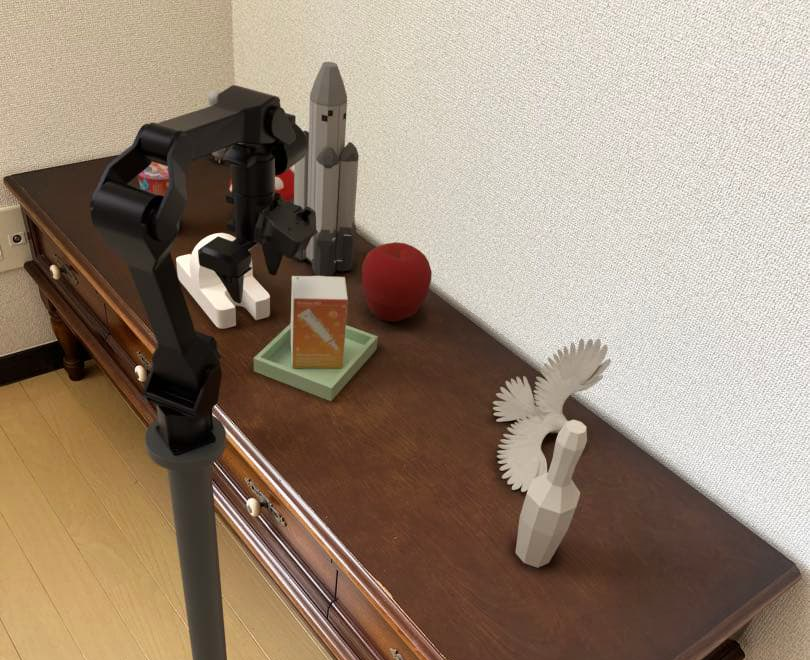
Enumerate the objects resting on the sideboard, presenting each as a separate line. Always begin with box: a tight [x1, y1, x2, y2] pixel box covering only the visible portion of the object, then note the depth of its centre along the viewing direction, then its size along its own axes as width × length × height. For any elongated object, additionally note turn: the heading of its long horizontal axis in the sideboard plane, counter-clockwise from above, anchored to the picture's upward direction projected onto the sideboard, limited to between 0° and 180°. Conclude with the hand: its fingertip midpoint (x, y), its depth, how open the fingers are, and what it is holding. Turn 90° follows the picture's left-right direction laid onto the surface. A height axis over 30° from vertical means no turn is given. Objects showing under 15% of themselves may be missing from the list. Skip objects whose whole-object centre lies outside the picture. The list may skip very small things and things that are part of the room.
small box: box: [290, 275, 349, 368], centre depth 126 cm, size 8×6×13 cm
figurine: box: [205, 89, 226, 164], centre depth 172 cm, size 9×4×15 cm, turn 42°
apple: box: [361, 241, 433, 323], centre depth 137 cm, size 12×12×13 cm
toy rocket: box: [293, 61, 360, 277], centre depth 140 cm, size 12×9×35 cm
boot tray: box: [253, 322, 379, 402], centre depth 130 cm, size 16×14×3 cm
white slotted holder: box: [175, 232, 271, 330], centre depth 137 cm, size 10×18×11 cm, turn 34°
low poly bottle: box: [515, 419, 588, 569], centre depth 99 cm, size 6×6×22 cm
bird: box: [492, 338, 612, 493], centre depth 120 cm, size 21×16×15 cm
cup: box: [136, 162, 181, 231], centre depth 150 cm, size 9×8×12 cm
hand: (255, 288), depth 121 cm, fingers open, 9 cm apart
